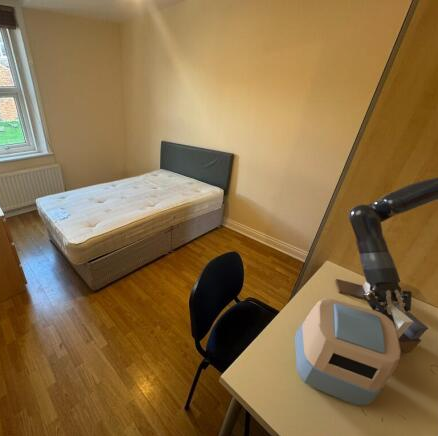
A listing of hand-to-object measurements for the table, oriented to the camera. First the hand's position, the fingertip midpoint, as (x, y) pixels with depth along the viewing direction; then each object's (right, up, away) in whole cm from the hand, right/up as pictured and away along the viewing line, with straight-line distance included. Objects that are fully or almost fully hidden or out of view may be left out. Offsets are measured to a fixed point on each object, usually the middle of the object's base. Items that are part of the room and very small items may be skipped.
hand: (397, 327), depth 67 cm
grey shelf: (0, -9, +7) cm, 11 cm away
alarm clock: (-21, -13, 0) cm, 25 cm away
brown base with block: (+12, +2, +25) cm, 28 cm away
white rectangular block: (0, -3, +4) cm, 5 cm away
